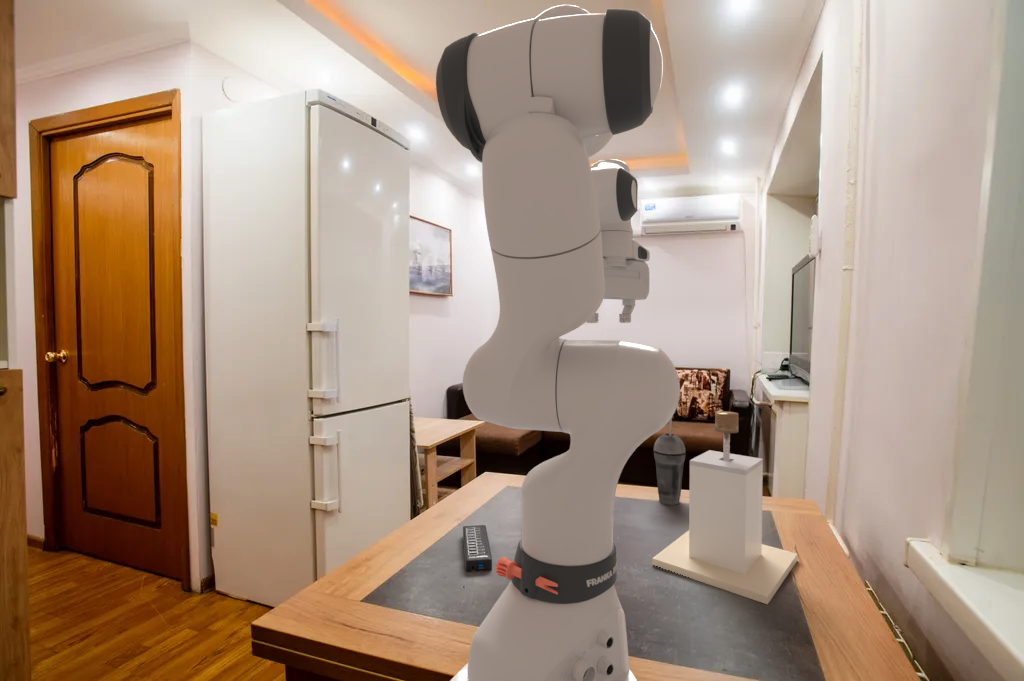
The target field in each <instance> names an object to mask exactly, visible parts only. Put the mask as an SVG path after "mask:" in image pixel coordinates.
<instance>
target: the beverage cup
mask: <svg viewBox="0 0 1024 681" xmlns="http://www.w3.org/2000/svg"><path fill="white" fill-rule="evenodd" d="M668 424H669V426H668V429H669V430H668V433H664V434H662V435H660V436H659V437H657V439H656V440H655V442H654V445H653V450H652V452H653V457H654V460H655V467H656V468H655V469H656V471H655V472H656V481H657V494H658V501H659V502H660V503H661V502H662V504H664V505H671V506H672V505H673V506H674V505H679V504H680V503H681V502H680V501H681V494H682V493H681V492H682V484H683V474H684V464H685V459H686V455H687V452H686V447H685V444H684V442H683V440H682V439H681V438H680V437H679V436H678V435H676V434H673V433H672V426H673V425H672V424H673V417H672V418H671V419H670V420H669V422H668Z"/></svg>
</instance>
